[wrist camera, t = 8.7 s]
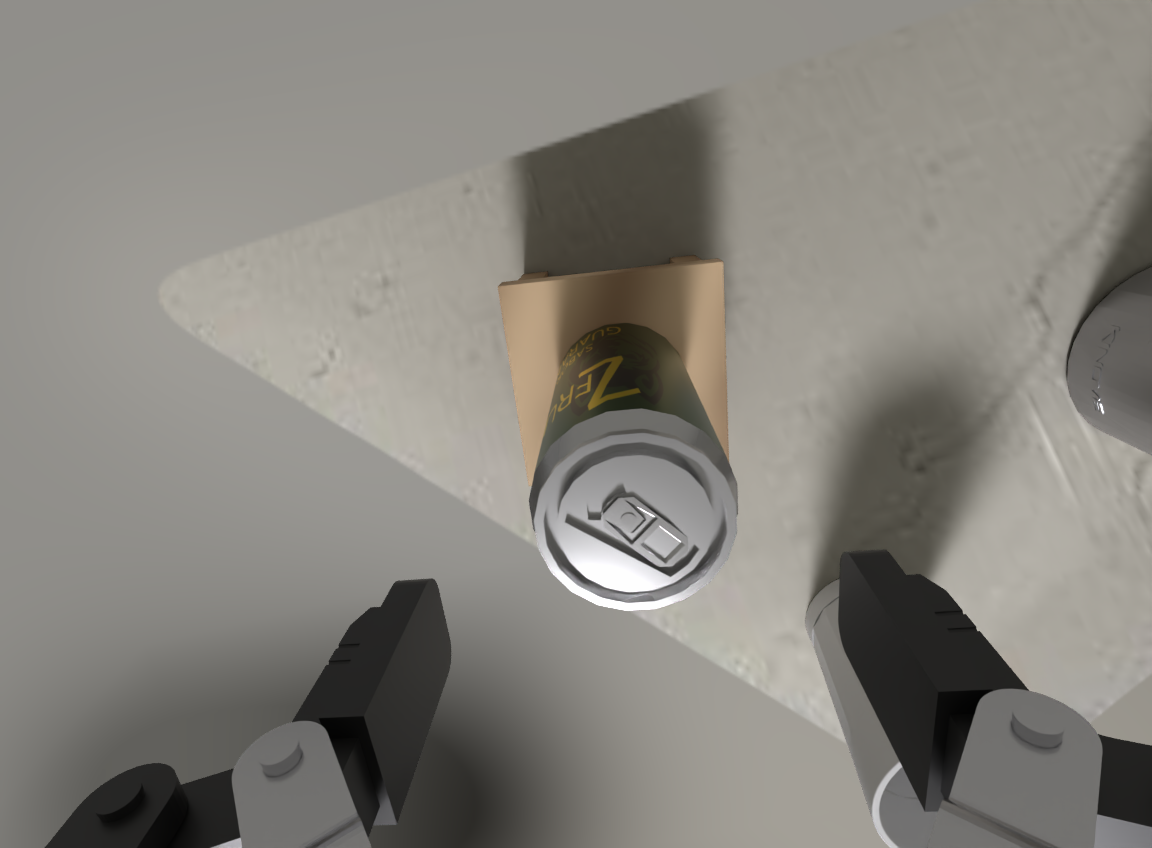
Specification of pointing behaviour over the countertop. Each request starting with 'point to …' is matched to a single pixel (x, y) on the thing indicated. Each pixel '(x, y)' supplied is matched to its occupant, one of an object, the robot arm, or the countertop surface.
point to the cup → (866, 734)
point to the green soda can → (631, 475)
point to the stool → (590, 300)
